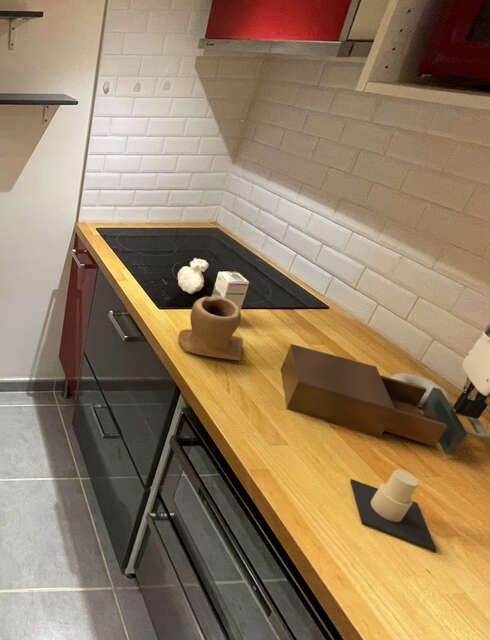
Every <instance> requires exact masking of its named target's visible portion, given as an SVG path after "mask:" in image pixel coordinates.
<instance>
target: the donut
mask: <svg viewBox="0 0 490 640" xmlns="http://www.w3.org/2000/svg"><path fill="white" fill-rule="evenodd" d="M390 378H392V379H396V380H399V381H403V382H407V383H410V384H414V385H418V386H421V387H425V388H426V389H427V390H426V392H425V394H424V395H423V397H422V399H421V401H420V402H419V404H418V406H417V407H418V408H421V407H422V405H423V404H424V402H425V400H426V399H427V397H428V395H429V394H430V392H431V390H432V389H433V387H435V388H438V389H441V390H442V392H443V394H444V395H445V397H446V399H447V400H448V402H449V404H450V405H451V403H452V400H451V396H450V395H449V393H448V392H447V391H446V390H445V389H444V388H443V386H441V385H440V384H437V383H436V382H434V381H432V380H430V379H428V378H426V377H423V376H420V375H417V374H413V373H407V372H399V373H394V374H392V376H390Z"/></svg>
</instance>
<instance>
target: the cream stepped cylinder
mask: <svg viewBox="0 0 490 640" xmlns="http://www.w3.org/2000/svg"><path fill="white" fill-rule="evenodd" d="M419 485H420V481H419V479H418V478H417V477H416V476H414V475H413V474H412V473H410V472H408V471H406V470H404V469H400V468H399V469H395V470H393V472H392V473H391V475H390V477H389V479H388V480H387V482H386V483H385V482H384V483H381V484H380V485H379V487H378V490H377V492H376V493H375V495H374V497H373V498H372V500H371V506H372V508H373V509H374V510H375V511H376V512H377V513H378V514H379V515H381V516H382V517H384V518H386V519H388V520H390V521H394V522H399V521H401V520H402V519H403V517H404V516H405V514H406V513H407V511H408V510H409V508H410V506H411V505H412V501H413V499H412V498H411V497H413V495H414V493H415V491H416V490H417V488H418V487H419Z"/></svg>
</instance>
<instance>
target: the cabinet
mask: <svg viewBox="0 0 490 640" xmlns="http://www.w3.org/2000/svg"><path fill="white" fill-rule="evenodd" d="M280 373H281V379H282V381H281V382H282V386H283V394H284V399H285V400H284V401H285V406H286V407H285V408H286V409H287V410H290V411H294V412H296V413H299V414H301V415H305V416H308V417H311V418H315V419H318V420H320V421H324V422H327V423H331V424H333V425H337V426H340V427H342V428H346V429H348V430H352V431H354V432H355V431H356V432H358V433H362V434H365V435H368V436H371V437H374V438H377V439H380V438H381V437H382V435H383V433H384V432H385V431H384V430H385V428H386V426H387V424H388V422H389V421H390V419H391V417H392V415H393V414H394V412H395V408H394V405H393V403H392V401H391V399H390V396H389V394H388V392H387V390H386V388H385V385H384V383H383V381H382V379H381V376H382V375H381V374H380V372H379V370H378V368H377V366H376V365H372V364H368V363H364V362H361V361H357V360H354V359H349V358H345V357H342V356H337V355H335V354H332V353H331V354H330V353H326V352H323V351H318V350H315V349H312V348H308V347H304V346H301V345H296V344H294V343H293V344H292V343H291V344H290V346H289V347H288V351H287V353H286V356H285V358H284V360H283V363H282V365H281V368H280ZM380 375H381V376H380Z"/></svg>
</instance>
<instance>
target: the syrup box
mask: <svg viewBox="0 0 490 640" xmlns="http://www.w3.org/2000/svg"><path fill="white" fill-rule="evenodd" d="M249 285H250V282H249V280H247V278H245V277H244V276H243V275H242V274H241V273H240V272H238V271H218V272H217V277H216V281H215V283H214V287H213V291H212V294H211V297H214V296H218V297H223V298H226V299H229V300H231V301H233V302H234V303H235V304H236V305H237V306H238V307H239V308H240V311H241V310H242V308H243V305H244V304H243V303H244V300H245V299H246V298H245V297H246V294H247V291H248V288H249Z"/></svg>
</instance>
